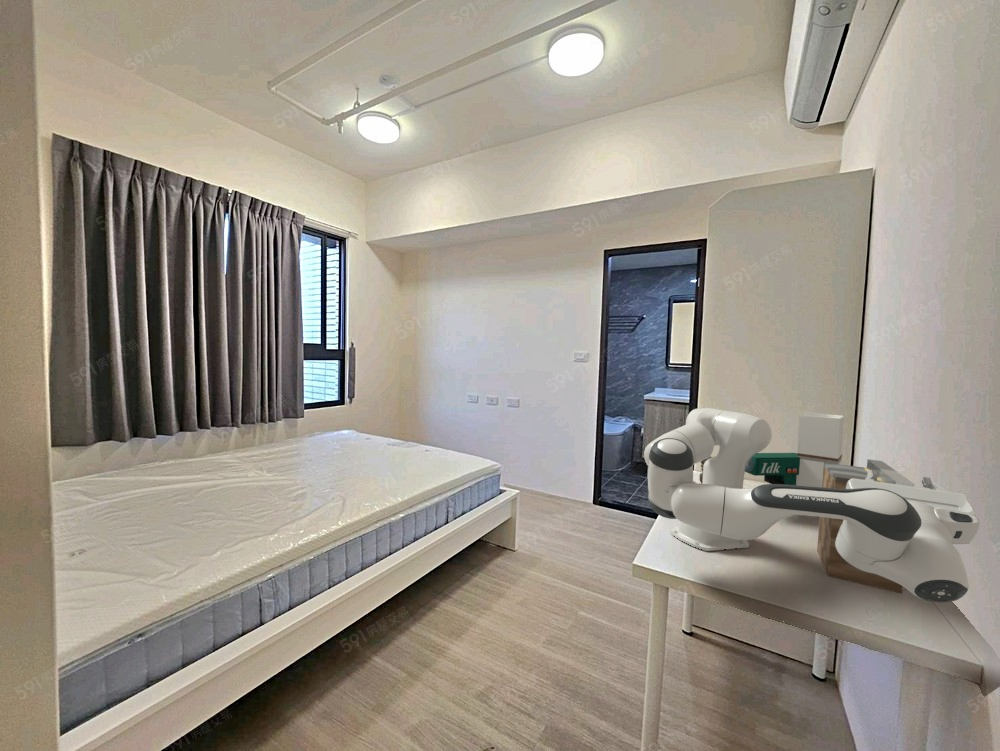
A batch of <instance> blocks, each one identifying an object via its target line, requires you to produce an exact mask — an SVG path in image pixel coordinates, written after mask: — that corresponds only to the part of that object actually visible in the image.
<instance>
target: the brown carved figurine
mask: <svg viewBox="0 0 1000 751" xmlns="http://www.w3.org/2000/svg"><path fill="white" fill-rule="evenodd" d="M712 457H713V456H712V455H711V456H710V457H709V458H707V459H705V460H702V461H700V468H701V471H702V472H701V473H699V482H700V484H702V481H703V465H704V463H705V462H706V461H707V460H708V459H710V458H712Z"/></svg>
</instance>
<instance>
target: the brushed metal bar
mask: <svg viewBox="0 0 1000 751" xmlns="http://www.w3.org/2000/svg"><path fill="white" fill-rule="evenodd" d="M866 468H867V469H868V470H874V471H877V473H878V478H879V479H880V480H881V481H882V482H883V483H890V484H897V485H904V486H911V487H916V486H915V485H916V484H915V483H913V482H912V481H911V480H910V479H908V478H907V477H905V476H904V475H902V474H901V473H900V472H898V471H897V470H895V469H894V467H893V468H892V467H891V466H890V465H888V464H887V463H886V462H884V461H883V460H876V459H867V462H866Z"/></svg>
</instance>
